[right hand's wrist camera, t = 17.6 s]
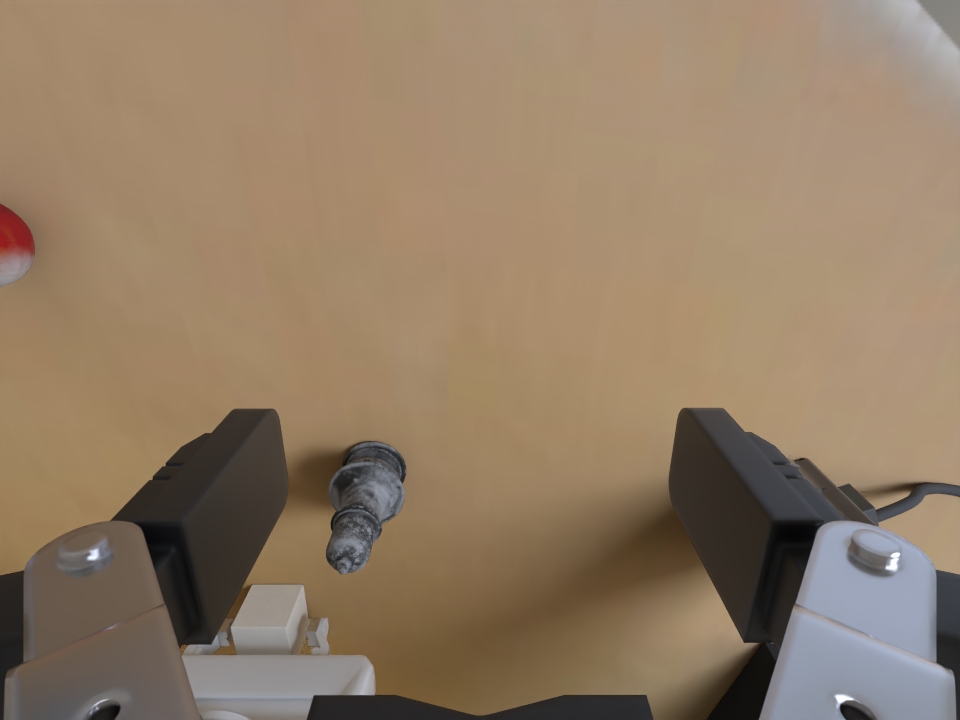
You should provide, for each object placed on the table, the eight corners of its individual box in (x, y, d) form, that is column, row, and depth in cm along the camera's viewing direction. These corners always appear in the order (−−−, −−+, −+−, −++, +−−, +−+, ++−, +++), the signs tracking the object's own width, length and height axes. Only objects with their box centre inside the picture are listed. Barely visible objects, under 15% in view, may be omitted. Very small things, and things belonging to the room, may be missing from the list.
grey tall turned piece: (404, 503, 48) (382, 614, 37) (336, 492, 47) (291, 602, 36) (414, 444, 46) (393, 543, 34) (342, 432, 45) (297, 529, 34)
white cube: (260, 625, 53) (239, 671, 49) (252, 584, 51) (229, 627, 47) (310, 625, 53) (294, 670, 49) (303, 583, 51) (286, 627, 47)
